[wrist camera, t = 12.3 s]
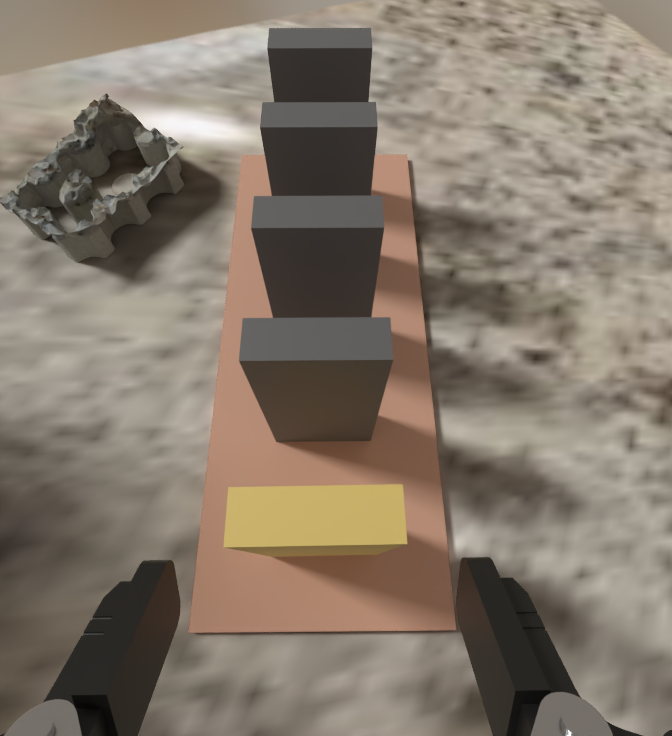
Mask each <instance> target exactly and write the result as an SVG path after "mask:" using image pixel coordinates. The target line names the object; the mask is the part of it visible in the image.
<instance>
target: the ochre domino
mask: <svg viewBox="0 0 672 736" xmlns="http://www.w3.org/2000/svg"><path fill="white" fill-rule="evenodd" d="M406 544H407V532H406V519H405V506H404V493H403V484H385V485H327V486H268V487H228V497H227V509H226V522H225V534H224V546H223V547H224V548H229V549H234V550H239V551H244V552H249V553H255V554H260V555H265V556H270V557H288V556H342V555H377V554H380V553H383V552H386V551H389V550H392V549H395V548H398V547H400V546H403V545H406Z"/></svg>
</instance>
